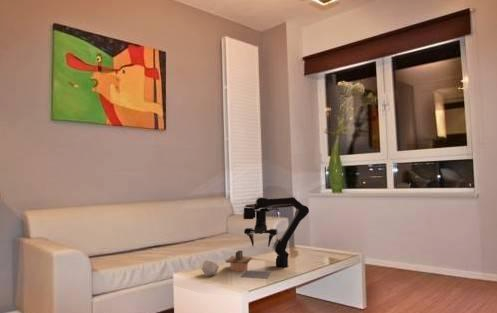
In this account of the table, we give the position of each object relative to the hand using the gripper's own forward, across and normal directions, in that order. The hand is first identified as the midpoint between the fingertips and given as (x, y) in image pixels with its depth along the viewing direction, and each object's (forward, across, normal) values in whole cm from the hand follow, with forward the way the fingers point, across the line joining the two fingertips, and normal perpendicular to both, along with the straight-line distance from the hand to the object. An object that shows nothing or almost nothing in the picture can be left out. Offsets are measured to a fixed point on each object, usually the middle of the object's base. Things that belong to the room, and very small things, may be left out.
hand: (260, 246), depth 212 cm
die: (+12, -23, -23) cm, 35 cm away
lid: (+7, -11, -8) cm, 15 cm away
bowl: (+12, -11, -8) cm, 18 cm away
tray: (+12, +1, -18) cm, 22 cm away
